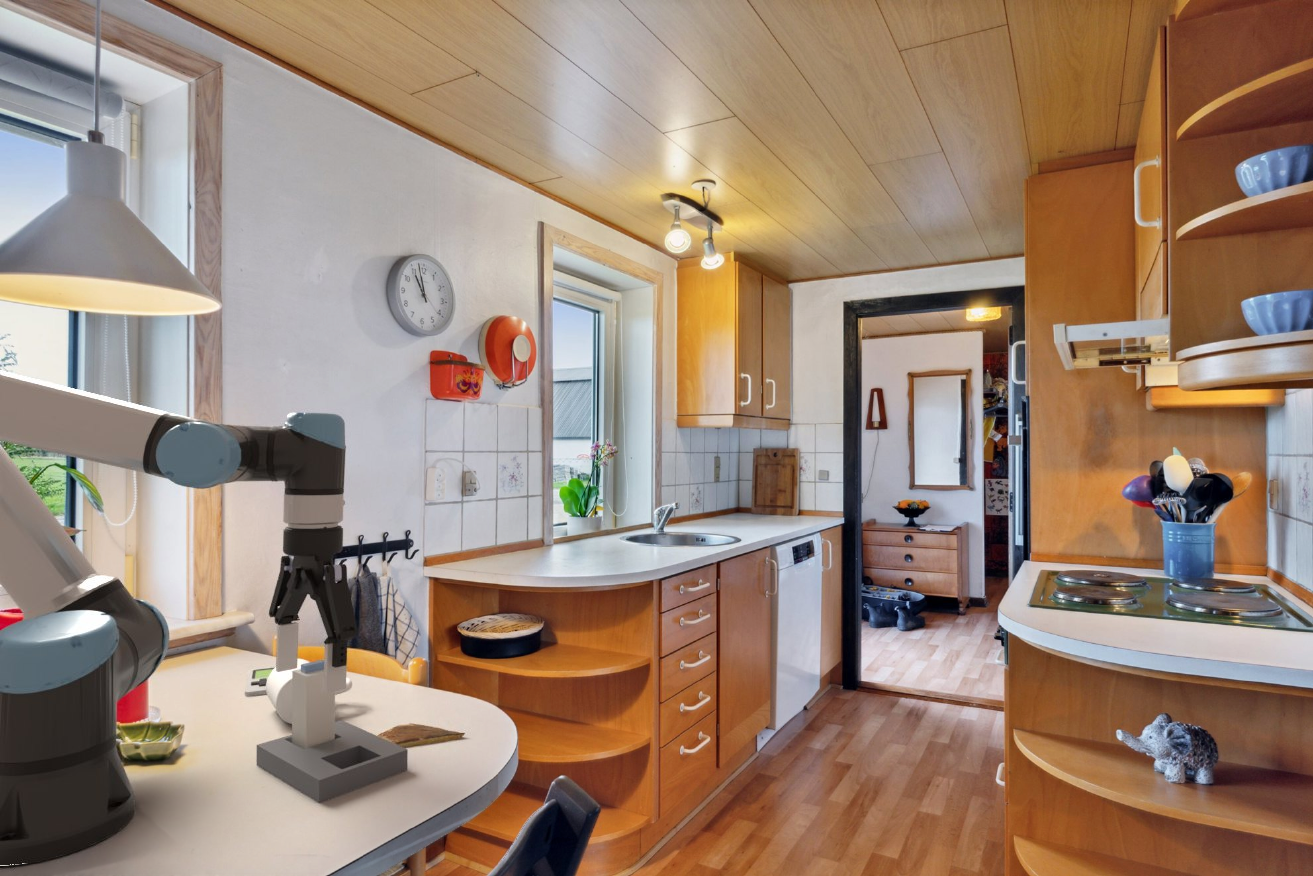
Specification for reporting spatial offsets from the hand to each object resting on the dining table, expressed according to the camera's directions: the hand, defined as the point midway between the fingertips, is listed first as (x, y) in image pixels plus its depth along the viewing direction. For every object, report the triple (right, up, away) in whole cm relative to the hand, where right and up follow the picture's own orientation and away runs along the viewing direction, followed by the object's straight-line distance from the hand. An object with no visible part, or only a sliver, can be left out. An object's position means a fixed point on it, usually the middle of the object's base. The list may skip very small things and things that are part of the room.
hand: (309, 680), depth 105 cm
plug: (0, -11, 0) cm, 11 cm away
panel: (+4, -11, -3) cm, 12 cm away
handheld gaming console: (-22, -12, +35) cm, 43 cm away
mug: (-8, -11, +19) cm, 23 cm away
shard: (+12, -12, +8) cm, 19 cm away
